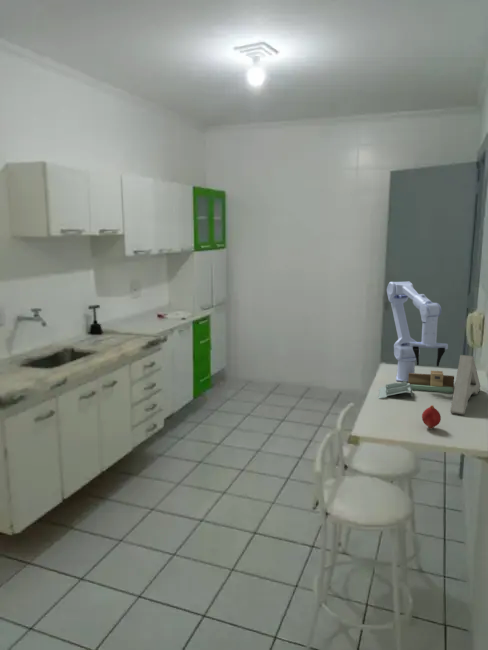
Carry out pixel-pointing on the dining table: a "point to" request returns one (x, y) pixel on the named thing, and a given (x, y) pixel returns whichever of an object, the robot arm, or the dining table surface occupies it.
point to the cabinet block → (436, 378)
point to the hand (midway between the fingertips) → (427, 365)
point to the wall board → (425, 379)
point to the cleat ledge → (432, 388)
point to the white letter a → (465, 384)
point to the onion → (431, 417)
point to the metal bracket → (394, 389)
